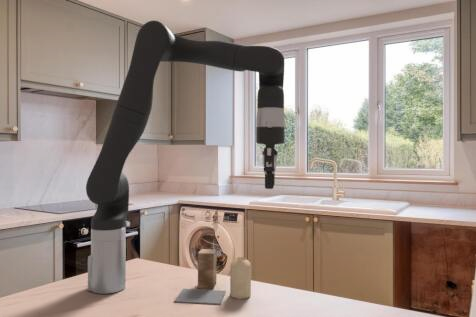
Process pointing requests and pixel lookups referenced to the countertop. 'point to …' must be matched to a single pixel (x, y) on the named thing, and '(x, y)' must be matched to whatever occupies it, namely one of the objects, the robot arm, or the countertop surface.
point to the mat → (200, 296)
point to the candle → (240, 278)
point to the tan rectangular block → (207, 268)
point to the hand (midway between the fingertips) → (269, 187)
